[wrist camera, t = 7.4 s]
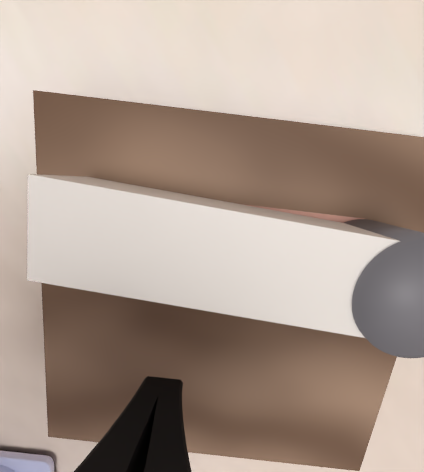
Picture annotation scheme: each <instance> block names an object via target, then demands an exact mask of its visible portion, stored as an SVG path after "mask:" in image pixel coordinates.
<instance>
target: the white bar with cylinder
mask: <svg viewBox="0 0 424 472" xmlns="http://www.w3.org/2000/svg"><path fill="white" fill-rule="evenodd" d="M27 280H28V281H34V282H40V283H46V284H51V285H57V286H63V287H69V288H75V289H81V290H87V291H92V292H98V293H104V294H110V295H116V296H122V297H128V298H133V299H139V300H145V301H151V302H157V303H163V304H169V305H174V306H180V307H186V308H192V309H198V310H204V311H210V312H215V313H221V314H227V315H233V316H239V317H245V318H251V319H256V320H262V321H268V322H274V323H280V324H286V325H292V326H297V327H303V328H309V329H315V330H321V331H327V332H332V333H338V334H344V335H350V336H356V337H362V338H366V339H367V340H368V341H369V342H370V343H371V344H372V345H373V346H375V347H376V348H377V349H379V350H381V351H383V352H385V353H387V354H390V355H393V356H397V357H403V358H420V357H424V233H423V232H419V231H415V230H411V229H406V228H402V227H398V226H394V225H390V224H386V223H382V222H377V221H373V220H368V219H356V220H351V221H347V222H344V223H342V222H336V221H330V220H325V219H319V218H314V217H308V216H303V215H297V214H292V213H286V212H281V211H275V210H269V209H264V208H258V207H253V206H247V205H242V204H236V203H231V202H225V201H220V200H214V199H208V198H203V197H197V196H192V195H186V194H181V193H175V192H170V191H164V190H159V189H153V188H147V187H142V186H136V185H131V184H125V183H120V182H114V181H109V180H103V179H98V178H92V177H82V176H59V175H37V174H28V218H27Z"/></svg>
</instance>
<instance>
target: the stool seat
mask: <svg viewBox="0 0 424 472" xmlns="http://www.w3.org/2000/svg"><path fill="white" fill-rule="evenodd" d="M33 96H34V119H35V142H36V165H37V175H59V176H82V177H92V178H98V179H103V180H109V181H114V182H120V183H125V184H131V185H136V186H142V187H147V188H153V189H159V190H164V191H170V192H175V193H181V194H186V195H192V196H197V197H203V198H208V199H214V200H220V201H225V202H231V203H236V204H242V205H247V206H253V207H258V208H264V209H269V210H275V211H281V212H286V213H292V214H297V215H303V216H308V217H314V218H319V219H325V220H330V221H336V222H342V223H344V222H347V221H351V220H356V219H368V220H373V221H377V222H382V223H386V224H390V225H394V226H398V227H402V228H406V229H411V230H415V231H419V232H423V233H424V137H417V136H409V135H401V134H392V133H384V132H376V131H367V130H359V129H351V128H342V127H334V126H326V125H317V124H309V123H301V122H292V121H284V120H276V119H267V118H259V117H251V116H242V115H234V114H226V113H217V112H209V111H201V110H193V109H184V108H176V107H168V106H159V105H151V104H143V103H134V102H126V101H118V100H109V99H101V98H93V97H84V96H76V95H68V94H59V93H51V92H43V91H34V90H33ZM42 303H43V326H44V349H45V372H46V395H47V418H48V437H56V438H65V439H74V440H83V441H92V442H99V441H100V440H101V439H102V438H103V437H104V435H105V434H106V433H107V432H108V430H109V429H110V428H111V426H112V425H113V424H114V422H115V421H116V420H117V418H118V417H119V416H120V414H121V413H122V412H123V410H124V409H125V408H126V406H127V405H128V403H129V402H130V401H131V399H132V398H133V396H134V395H135V393H136V392H137V390H138V389H139V387H140V386H141V384H142V382H143V381H144V379H145V378H146V377H147V376H152V377H161V378H170V379H179V380H181V381H182V382H183V388H182V410H183V422H184V430H185V438H186V445H187V451H188V452H192V453H201V454H210V455H219V456H228V457H237V458H246V459H255V460H264V461H273V462H283V463H292V464H301V465H310V466H319V467H328V468H337V469H346V470H355V471H359V470H360V467H361V464H362V461H363V458H364V455H365V452H366V449H367V446H368V443H369V440H370V437H371V434H372V431H373V428H374V425H375V422H376V418H377V415H378V412H379V409H380V406H381V403H382V400H383V397H384V394H385V391H386V388H387V385H388V382H389V379H390V376H391V373H392V370H393V367H394V364H395V361H396V358H397V356H393V355H390V354H387V353H385V352H383V351H381V350H379V349H377V348H376V347H375V346H373V345H372V344H371V343H370V342H369V341H368V340H367V339H366V338H362V337H356V336H350V335H344V334H338V333H332V332H327V331H321V330H315V329H309V328H303V327H297V326H292V325H286V324H280V323H274V322H268V321H262V320H256V319H251V318H245V317H239V316H233V315H227V314H221V313H215V312H210V311H204V310H198V309H192V308H186V307H180V306H174V305H169V304H163V303H157V302H151V301H145V300H139V299H133V298H128V297H122V296H116V295H110V294H104V293H98V292H92V291H87V290H81V289H75V288H69V287H63V286H57V285H51V284H46V283H42Z"/></svg>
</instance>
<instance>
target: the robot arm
mask: <svg viewBox="0 0 424 472" xmlns="http://www.w3.org/2000/svg"><path fill="white" fill-rule="evenodd" d="M182 388H183V382H182V381H181V380H179V379H170V378H161V377H152V376H147V377H146V378H145V379H144V381H143V382H142V384H141V386H140V387H139V389H138V390H137V392H136V393H135V395H134V396H133V398H132V399H131V401H130V402H129V403H128V405H127V406H126V408H125V409H124V410H123V412H122V413H121V414H120V416H119V417H118V418H117V420H116V421H115V422H114V424H113V425H112V426H111V428H110V429H109V430H108V432H107V433H106V434H105V435H104V437H103V438H102V439H101V440H100V441H99V443H98V444H97V445H96V446H95V447H94V449H93V450H92V451H91V452H90V453H89V455H88V456H87V457H86V458H85V460H84V461H83V462H82V463H81V464H80V465H79V466H78V468H77V469H76V470H75V471H74V472H191V468H190V463H189V457H188V451H187V445H186V438H185V430H184V422H183V410H182ZM0 472H54V461H53V459H52V458H51V457H50V456H46V455H38V454H28V453H19V452H10V451H1V450H0Z"/></svg>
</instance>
